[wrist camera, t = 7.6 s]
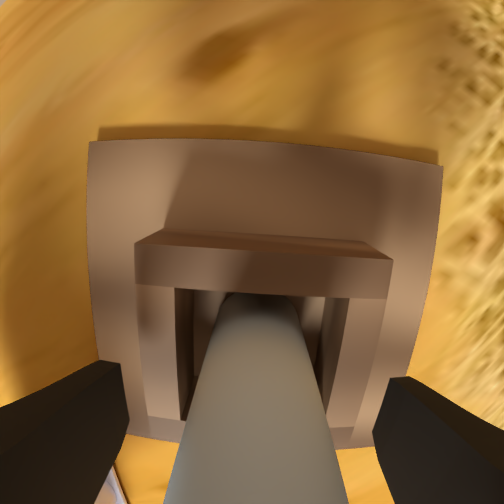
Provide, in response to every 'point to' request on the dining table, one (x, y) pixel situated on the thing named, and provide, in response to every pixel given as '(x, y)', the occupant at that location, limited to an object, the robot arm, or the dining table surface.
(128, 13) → the dining table surface
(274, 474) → the peg
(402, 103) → the dining table surface
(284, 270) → the socket block
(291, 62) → the dining table surface
